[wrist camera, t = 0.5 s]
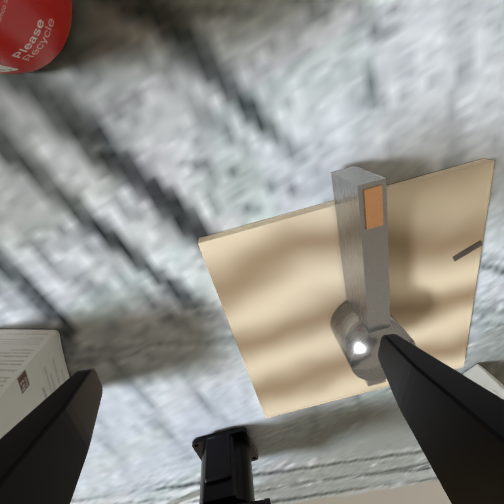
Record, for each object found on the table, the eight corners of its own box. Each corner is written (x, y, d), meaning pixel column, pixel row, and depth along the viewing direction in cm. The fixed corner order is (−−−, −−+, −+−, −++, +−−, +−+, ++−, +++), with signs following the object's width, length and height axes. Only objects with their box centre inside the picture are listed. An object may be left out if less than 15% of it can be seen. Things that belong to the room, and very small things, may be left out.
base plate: (456, 359, 30) (464, 367, 29) (264, 409, 31) (266, 419, 30) (482, 158, 20) (496, 160, 19) (199, 238, 21) (198, 244, 20)
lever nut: (386, 350, 27) (414, 391, 23) (336, 363, 27) (356, 406, 23) (379, 158, 18) (421, 170, 14) (306, 179, 18) (329, 196, 15)
